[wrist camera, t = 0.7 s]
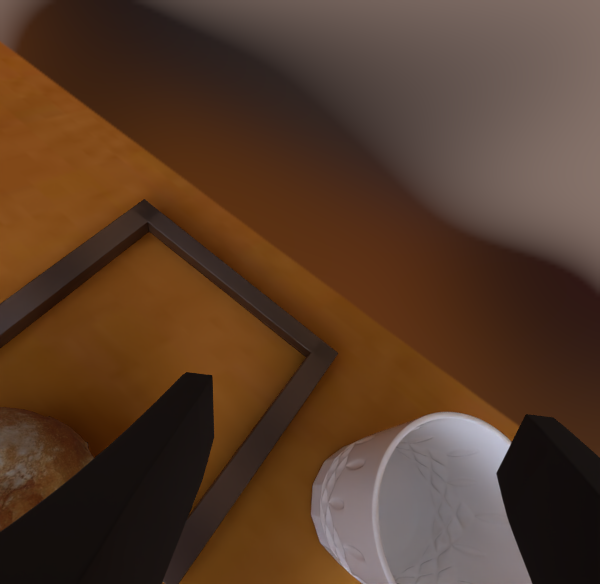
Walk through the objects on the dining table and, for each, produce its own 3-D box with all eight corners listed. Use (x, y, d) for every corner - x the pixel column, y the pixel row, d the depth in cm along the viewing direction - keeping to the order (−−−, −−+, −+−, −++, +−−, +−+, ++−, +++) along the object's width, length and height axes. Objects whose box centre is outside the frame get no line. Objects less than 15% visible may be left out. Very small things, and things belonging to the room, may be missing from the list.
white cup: (281, 461, 23) (340, 452, 15) (389, 417, 26) (491, 387, 18) (330, 612, 21) (435, 710, 12) (443, 545, 24) (593, 584, 15)
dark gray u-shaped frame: (174, 585, 20) (173, 591, 19) (-72, 371, 21) (-86, 365, 20) (332, 357, 27) (338, 353, 26) (145, 209, 28) (144, 198, 27)
